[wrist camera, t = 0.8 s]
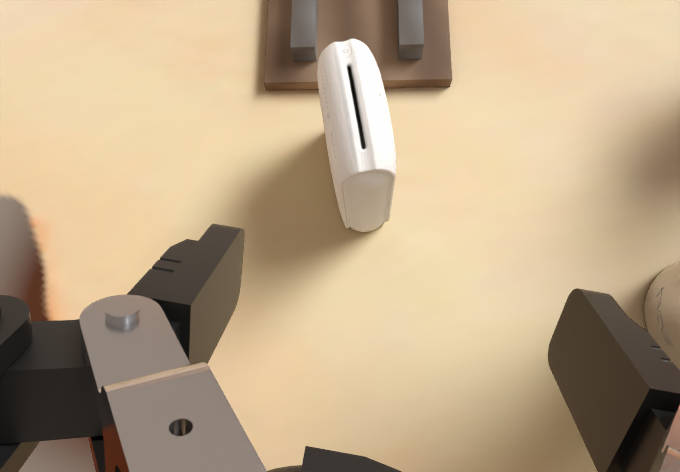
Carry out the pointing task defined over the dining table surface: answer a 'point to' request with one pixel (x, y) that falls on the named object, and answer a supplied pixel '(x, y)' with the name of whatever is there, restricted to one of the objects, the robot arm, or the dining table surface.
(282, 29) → the cradle
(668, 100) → the dining table surface
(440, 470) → the dining table surface
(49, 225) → the dining table surface
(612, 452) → the robot arm
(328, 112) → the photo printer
